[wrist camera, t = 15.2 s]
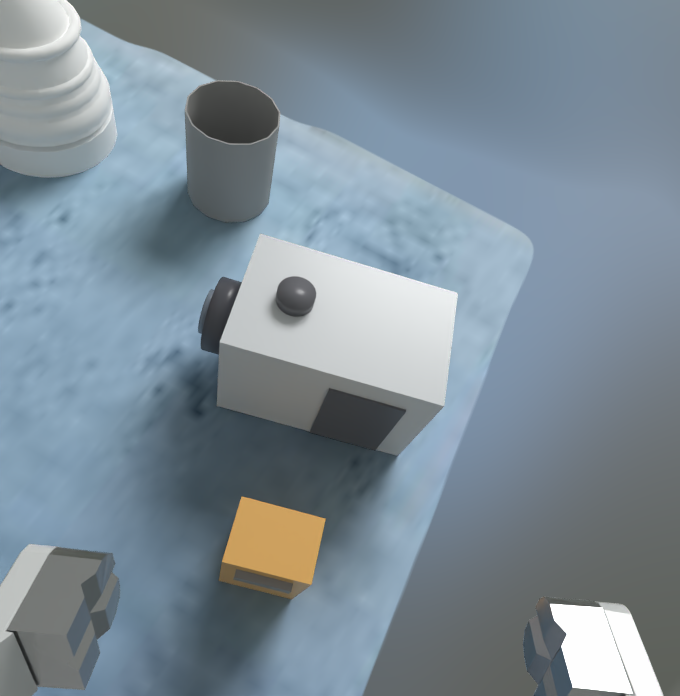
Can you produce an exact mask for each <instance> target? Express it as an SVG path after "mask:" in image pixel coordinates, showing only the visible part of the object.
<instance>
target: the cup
mask: <svg viewBox="0 0 680 696" xmlns="http://www.w3.org/2000/svg"><path fill="white" fill-rule="evenodd" d="M279 121H280V111H279V110H278V108H277V106H276V104H275V103H274V101H273V99H272V98H271V97H269V96H268V95H267V94H265V93H264V92H263V91H261V90H260V89H258V88H257V87H254V86H251V85H248V84H245V83H242V82H239V81H221V80H219V81H218V80H217V81H213V82H210V83H207V84H203V85H200V86H198V87H197V88H196V89H195V90H194V91H193V92H192V93H191V94H190V95H189V96H188V97H187V102H186V107H185V129H186V157H187V184H188V194H189V196H190V198H191V201H192V203H193V205H194V206H195V207H196V208H197V209H198V210H200V211H201V212H202V213H203V214H205V215H206V216H207V217H210V218H213V219H216V220H219V221H223V222H245V221H247V220H249V219H252V218H254V217H256V216H259V215H260V214H261V213H262V211H263V210H264V209H265V208H266V206H267V205H268V203H269V196H270V189H271V182H272V174H273V167H274V160H275V153H276V145H277V138H278V131H279Z"/></svg>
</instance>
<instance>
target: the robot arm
mask: <svg viewBox="0 0 680 696" xmlns="http://www.w3.org/2000/svg"><path fill="white" fill-rule="evenodd" d="M114 565H115V561H114V558H113V554H112V553H107V552H98V551H88V550H79V549H70V548H61V547H56V546H45V545H35V544H29V545H28V546H27V547H26V548H25V549H24V550H23V551H22V552H21V553H20V554H19V556H18V557H17V559H16V561H15V562H14V564H13V565H12V567H11V569H10V570H9V572H8V574H7V575H6V577H5V578H4V580H3V582H2V583H1V585H0V696H32V695H33V694H34V693H35V692H36V691H37V689H38V688H37V686H38V687H52V688H66V689H79V690H85V688H86V686H87V684H88V681H89V679H90V676H91V674H92V671H93V669H94V667H95V664H96V662H97V659H98V657H99V654H100V650H99V646H98V643H97V639H98V638H99V637H101V636H102V635H103V634H104V633H105V632H107V631H108V630H109V629H110V627H111V625H112V622H113V620H114V617H115V614H116V611H117V606H118V602H119V598H120V584H119V579H118V577H117V576H115V575H114V574H113V573H112V570H113V568H114ZM536 611H537V616H536V617H534V618H532V619H530V620H529V621H528V624H527V626H526V628H525V631H524V642H523V647H524V658H525V663H526V667H527V672H528V673H529V674H530V675H531V676H532V678H533V679H534V680H535V681H536V683H537V684H538V686H537V688H536V691H535V693H534V695H533V696H663V693H662V691H661V688H660V685H659V683H658V681H657V678H656V675H655V673H654V671H653V668H652V665H651V663H650V661H649V658H648V655H647V653H646V651H645V648H644V646H643V643H642V641H641V638H640V636H639V633H638V631H637V628H636V626H635V623H634V621H633V618H632V616H631V613H630V611H629V610H628V609H627V608H626V606H624V605H622V604H615V603H604V602H595V601H590V600H578V599H565V598H554V597H543V598H541V599H539V601H538V603H537V605H536Z"/></svg>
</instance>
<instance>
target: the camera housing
mask: <svg viewBox="0 0 680 696" xmlns="http://www.w3.org/2000/svg"><path fill="white" fill-rule="evenodd" d="M457 296H458V293H456V292H452V291H449V290H446V289H443V288H439V287H436V286H433V285H429V284H426V283H423V282H419V281H416V280H413V279H409V278H406V277H403V276H399V275H396V274H393V273H389V272H386V271H383V270H379V269H376V268H373V267H370V266H366V265H363V264H360V263H356V262H353V261H350V260H346V259H343V258H340V257H336V256H333V255H330V254H326V253H323V252H320V251H316V250H313V249H310V248H306V247H303V246H300V245H297V244H293V243H290V242H287V241H283V240H280V239H277V238H273V237H270V236H267V235H263V234H260V236H259V238H258V241H257V244H256V246H255V249H254V252H253V254H252V257H251V260H250V262H249V265H248V268H247V270H246V273H245V276H244V278H243V281H242V282H239V281H236V280H232V279H229V278H226V277H222V278H221V279H220V280H219V282H218V284H217V286H216V288H215V290H212V289H211V290H210V291H209V293H208V295H207V297H206V300H205V302H204V305H203V308H202V312H201V315H200V320H199V326H198V332H199V333H201V334H202V336H201V349H202V350H205V351H208V352H212V353H215V354H219V366H218V388H217V406H219V407H223V408H226V409H230V410H234V411H237V412H241V413H244V414H248V415H252V416H255V417H259V418H263V419H266V420H270V421H273V422H277V423H281V424H284V425H288V426H291V427H295V428H299V429H302V430H306V431H310V433H314V434H317V435H321V436H324V437H328V438H332V439H335V440H339V441H343V442H346V443H350V444H353V445H357V446H361V447H364V448H368V449H371V450H378V451H382V452H386V453H389V454H393V455H396V456H398V455H399V454H400V453H401V452H402V451H403V450H404V449H405V448H406V447H407V446H408V445H409V444H410V442H411V441H412V440H413V439H414V438H415V437H416V436H417V435H418V434H419V433H420V432H421V431H422V430H423V428H424V427H425V426H426V425H427V424H428V423H429V422H430V421H431V420H432V419H433V418H434V417H435V416H436V414H437V413H438V412H439V411H440V410H441V409H442V408H443V407H444V404H445V396H446V387H447V379H448V371H449V362H450V354H451V346H452V337H453V329H454V321H455V312H456V304H457Z"/></svg>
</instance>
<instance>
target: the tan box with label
mask: <svg viewBox="0 0 680 696" xmlns="http://www.w3.org/2000/svg"><path fill="white" fill-rule="evenodd" d="M325 520H326V519H325V518H321V517H318V516H314V515H310V514H306V513H303V512H299V511H295V510H291V509H288V508H284V507H280V506H276V505H273V504H269V503H265V502H261V501H258V500H254V499H250V498H246V497H243V496H242V497H241V500H240V503H239V507H238V510H237V513H236V517H235V520H234V523H233V527H232V530H231V533H230V537H229V540H228V543H227V547H226V550H225V553H224V557H223V560H222V564H221V570H220V576H219V581H222V582H226V583H230V584H233V585H237V586H241V587H245V588H249V589H253V590H257V591H261V592H265V593H269V594H273V595H277V596H281V597H285V598H289V599H293V598H294V597H295V596H297V595H298V594H299V593H301V592H302V591H304V590H305V589H306V588H308V587H309V586H310V585H311V584H312V579H313V575H314V570H315V566H316V561H317V556H318V552H319V547H320V543H321V538H322V534H323V529H324V524H325Z"/></svg>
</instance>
